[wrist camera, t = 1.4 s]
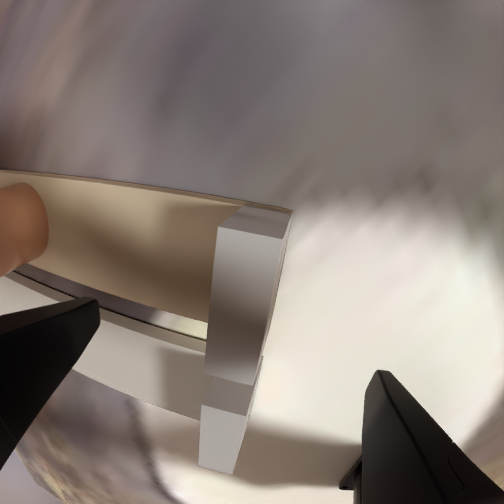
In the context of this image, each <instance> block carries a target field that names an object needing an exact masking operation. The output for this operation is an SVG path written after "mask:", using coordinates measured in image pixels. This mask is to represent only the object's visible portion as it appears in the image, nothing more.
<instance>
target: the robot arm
mask: <svg viewBox="0 0 504 504" xmlns="http://www.w3.org/2000/svg"><path fill="white" fill-rule="evenodd" d="M100 322H101V319H100V310H99V303H98V301H97V300H96V299H93V298H91V297H82V298H78V299H73V300H69V301H64V302H60V303H55V304H50V305H46V306H41V307H37V308H32V309H27V310H23V311H18V312H13V313H9V314H4V315H1V316H0V470H1V469H2V467H3V465H4V464H5V462H6V461H7V459H8V458H9V456H10V455H11V453H12V452H13V450H14V449H15V447H16V446H17V444H18V442H19V441H20V439H21V438H22V436H23V435H24V433H25V432H26V431H27V429H28V428H29V426H30V425H31V423H32V422H33V420H34V419H35V418H36V416H37V415H38V413H39V412H40V411H41V409H42V408H43V406H44V405H45V404H46V402H47V401H48V400H49V398H50V397H51V395H52V394H53V393H54V391H55V390H56V389H57V387H58V386H59V385H60V383H61V382H62V381H63V379H64V378H65V377H66V375H67V374H68V373H69V371H70V370H71V369H72V368H73V366H74V365H75V364H76V362H77V361H78V360H79V358H80V357H81V355H82V354H83V352H84V350H85V349H86V347H87V345H88V344H89V342H90V341H91V339H92V338H93V336H94V334H95V333H96V331H97V330H98V328H99V326H100ZM452 442H453V440H452V439H451V438H450V437H449V436H448V435H447V434H446V433H445V431H444V430H443V429H442V428H441V427H440V426H439V425H438V424H437V423H436V421H435V420H434V419H433V418H432V417H431V416H430V415H429V414H428V413H427V411H426V410H425V409H424V408H423V407H422V406H421V405H420V404H419V403H418V402H417V400H416V399H415V398H414V397H413V396H412V395H411V394H410V393H409V392H408V391H407V390H406V388H405V387H404V386H403V385H402V384H401V383H400V382H399V381H398V380H397V379H396V378H395V377H394V375H393V374H392V373H391V372H390V371H385V370H377V371H376V372H375V373H374V375H373V377H372V379H371V381H370V383H369V385H368V387H367V389H366V392H365V400H364V415H363V428H362V456H361V457H360V458H359V460H358V461H357V462H356V464H355V465H354V466H353V467H352V469H351V470H350V471H349V472H348V474H347V475H346V476H345V477H344V479H343V480H342V481H341V482H340V483H339V489H341V490H354V502H353V504H504V491H503V490H502V489H501V488H500V487H499V486H497V485H496V484H495V483H494V482H493V481H492V480H491V479H490V478H489V477H488V476H487V475H486V474H485V473H483V472H482V471H481V470H480V469H479V468H478V467H477V466H476V465H475V464H474V463H473V462H472V461H471V460H470V459H469V458H468V457H467V456H466V455H465V454H464V453H463V451H462V450H461V449H460V448H459V447H458V446H457V445H456V444H455V443H454V442H453V443H452Z"/></svg>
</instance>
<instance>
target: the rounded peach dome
mask: <svg viewBox="0 0 504 504" xmlns="http://www.w3.org/2000/svg"><path fill="white" fill-rule="evenodd" d="M48 238H49V225H48V218H47V213H46V210H45V206H44V204H43V201H42V199H41V197H40V196H39V194H38V192H37V191H36V190H35V189H34V188H33V187H32V186H31V185H29V184H27V183H17V184H13V185H9V186H5V187H1V188H0V277H2V276H4V275H6V274H7V273H9V272H11V271H13V270H15V269H17V268H19V267H21V266H22V265H24V264H26V263H28V262H30V261H32V260H34V259H36V258H38V257H40V256H41V255H42V254H43V253H44V251H45V249H46V247H47V243H48Z"/></svg>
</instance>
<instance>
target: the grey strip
mask: <svg viewBox="0 0 504 504" xmlns="http://www.w3.org/2000/svg"><path fill="white" fill-rule="evenodd" d="M73 299H76V298H73V297H71V296H68V295H66V294H63V293H61V292H58V291H56V290H53V289H51V288H49V287H46V286H44V285H42V284H39V283H37V282H35V281H33V280H30V279H28V278H26V277H24V276H21V275H19V274H17V273H15V272H13V271H11V272H9V273H7V274H6V275H4V276H2V277H0V316H1V315H4V314H9V313H13V312H18V311H23V310H27V309H32V308H37V307H41V306H46V305H50V304H55V303H60V302H64V301H69V300H73ZM99 310H100V319H101V322H100V326H99V328H98V330H97V331H96V333H95V334H94V336H93V338H92V339H91V341H90V342H89V344H88V345H87V347H86V349H85V350H84V352H83V354H82V355H81V357H80V358H79V360H78V361H77V362H76V364H75V365H74V366H73V368H72V369H74V370H76V371H78V372H80V373H82V374H84V375H86V376H88V377H90V378H92V379H94V380H96V381H98V382H100V383H102V384H105V385H107V386H109V387H111V388H114V389H116V390H118V391H121V392H123V393H125V394H128V395H130V396H132V397H135V398H137V399H140V400H143V401H145V402H148V403H150V404H153V405H156V406H158V407H161V408H164V409H167V410H170V411H172V412H175V413H178V414H181V415H184V416H187V417H191V418H194V419H197V420H200V438H199V458H198V466H200V467H204V468H207V469H211V470H214V471H218V472H221V473H225V474H229V475H232V474H233V470H234V467H235V464H236V461H237V457H238V454H239V451H240V448H241V444H242V441H243V438H244V434H245V431H246V427H247V424H248V420H249V416H250V412H251V408H252V404H253V400H254V395H255V391H256V387H257V382H258V378H259V374H260V369H261V365H262V361H263V356H262V357H261V360H260V363H259V367H258V370H257V374H256V377H255V380H254V384H253V386H251V385H247V384H243V383H239V382H235V381H231V380H227V379H223V378H220V377H216V376H212V375H209V374H205V373H204V364H205V351H206V342H205V341H202V340H198V339H195V338H191V337H188V336H184V335H181V334H177V333H174V332H171V331H167V330H164V329H161V328H158V327H155V326H152V325H148V324H145V323H142V322H139V321H136V320H133V319H130V318H127V317H124V316H122V315H119V314H116V313H113V312H110V311H107V310H105V309H102V308H99Z"/></svg>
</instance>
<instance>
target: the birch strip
mask: <svg viewBox="0 0 504 504" xmlns="http://www.w3.org/2000/svg"><path fill="white" fill-rule="evenodd" d="M17 183H27V184H29V185H31V186H32V187H33V188H34V189H35V190H36V191H37V192H38V194H39V196H40V197H41V199H42V201H43V204H44V206H45V210H46V213H47V218H48V225H49V238H48V243H47V247H46V249H45V251H44V253H43V254H42V255H41V256H40V257H38V258H36V259H34V260H32V261H30V262H28V264H30V265H33V266H35V267H38V268H40V269H43V270H45V271H48V272H50V273H53V274H56V275H58V276H61V277H64V278H66V279H69V280H72V281H75V282H77V283H80V284H83V285H86V286H89V287H92V288H94V289H97V290H100V291H103V292H106V293H109V294H112V295H115V296H118V297H121V298H124V299H128V300H131V301H134V302H137V303H140V304H144V305H147V306H150V307H153V308H157V309H160V310H163V311H167V312H170V313H174V314H177V315H181V316H184V317H188V318H192V319H195V320H199V321H203V322H207V323H208V328H207V339H206V351H205V364H204V373H205V374H209V375H212V376H216V377H220V378H223V379H227V380H231V381H235V382H239V383H243V384H247V385H251V386H253V384H254V380H255V377H256V374H257V370H258V367H259V363H260V360H261V357H262V353H263V350H264V346H265V343H266V339H267V335H268V332H269V328H270V324H271V320H272V315H273V310H274V305H275V301H276V296H277V291H278V286H279V281H280V276H281V271H282V266H283V261H284V256H285V251H286V246H287V241H288V236H289V230H290V225H291V220H292V214H293V210H289V209H284V208H279V207H274V206H268V205H263V204H258V203H252V202H247V201H241V200H236V199H230V198H224V197H218V196H212V195H206V194H200V193H194V192H188V191H182V190H175V189H169V188H162V187H155V186H148V185H141V184H134V183H126V182H119V181H111V180H103V179H95V178H86V177H77V176H68V175H58V174H48V173H38V172H26V171H14V170H0V188H1V187H5V186H9V185H13V184H17Z"/></svg>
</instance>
